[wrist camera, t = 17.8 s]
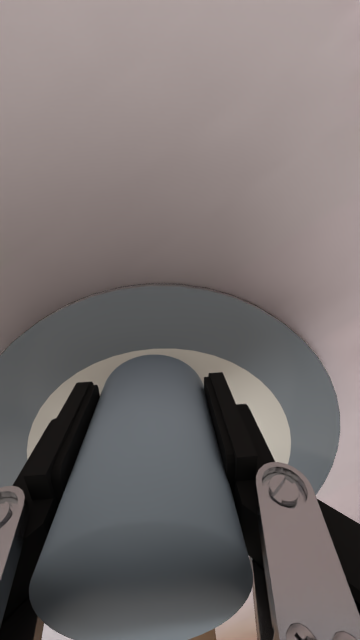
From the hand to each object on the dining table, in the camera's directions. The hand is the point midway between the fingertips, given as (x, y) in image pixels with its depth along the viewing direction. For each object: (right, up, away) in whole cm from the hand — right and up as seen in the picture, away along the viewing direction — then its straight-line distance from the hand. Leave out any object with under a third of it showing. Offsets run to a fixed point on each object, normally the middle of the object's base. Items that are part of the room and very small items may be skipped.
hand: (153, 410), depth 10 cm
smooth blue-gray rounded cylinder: (0, 0, +1) cm, 1 cm away
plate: (0, -4, +5) cm, 6 cm away
